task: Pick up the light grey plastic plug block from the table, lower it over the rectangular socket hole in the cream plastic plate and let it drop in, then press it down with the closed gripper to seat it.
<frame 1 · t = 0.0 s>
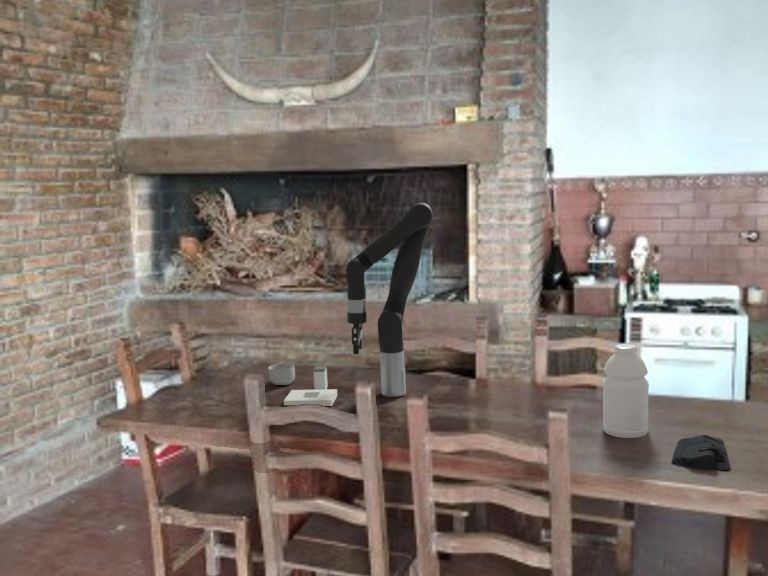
hand: (357, 351, 291), 17 cm above the table, tool pointing down, fingers open, 8 cm apart
bottle: (625, 431, 240), on the table
plug: (321, 389, 303), on the table
dark slate chunk: (701, 457, 218), on the table
teacup: (283, 383, 315), on the table
socket plate: (311, 401, 287), on the table
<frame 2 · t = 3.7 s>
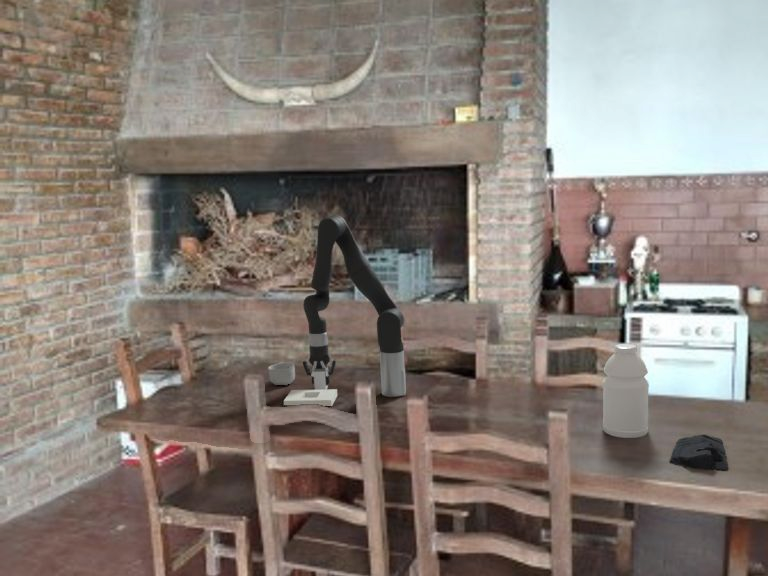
hand: (320, 384, 303), 2 cm above the table, tool pointing down, fingers closed on plug, 4 cm apart
plug: (321, 389, 303), on the table, touching gripper
when the fingers open (5 cm above the table, at t = 9.8 s): plug drops 3 cm, resting in socket plate.
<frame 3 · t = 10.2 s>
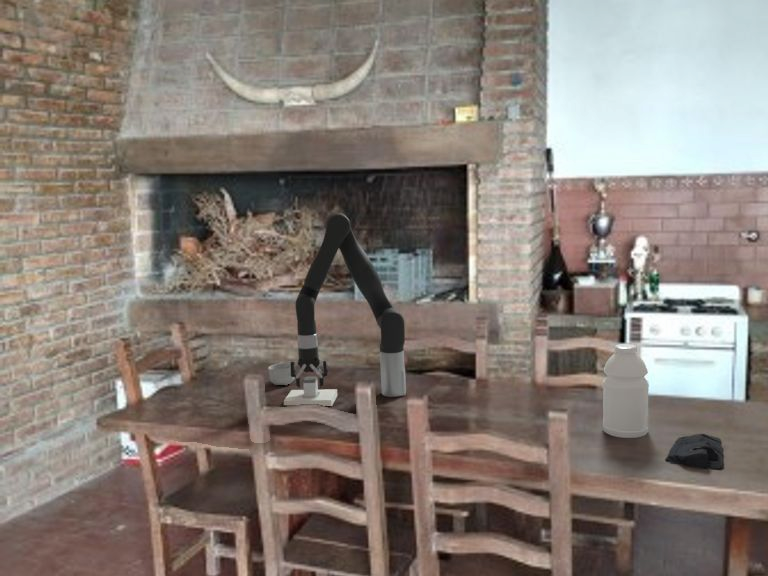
hand: (310, 387, 287), 6 cm above the table, tool pointing down, fingers open, 8 cm apart
plug: (311, 401, 287), resting in socket plate
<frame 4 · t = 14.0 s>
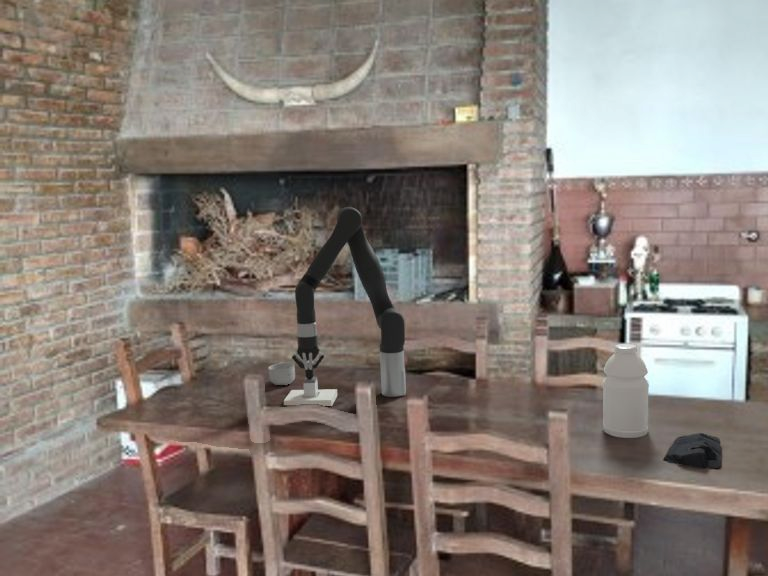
hand: (309, 378, 286), 9 cm above the table, tool pointing down, fingers closed
plug: (311, 401, 287), resting in socket plate, touching gripper
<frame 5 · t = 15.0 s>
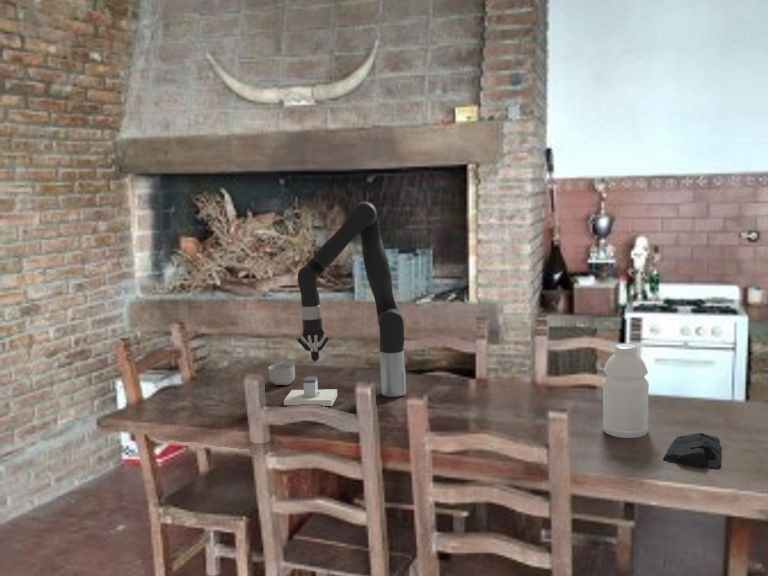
hand: (315, 360, 291), 14 cm above the table, tool pointing down, fingers closed
plug: (311, 401, 287), resting in socket plate
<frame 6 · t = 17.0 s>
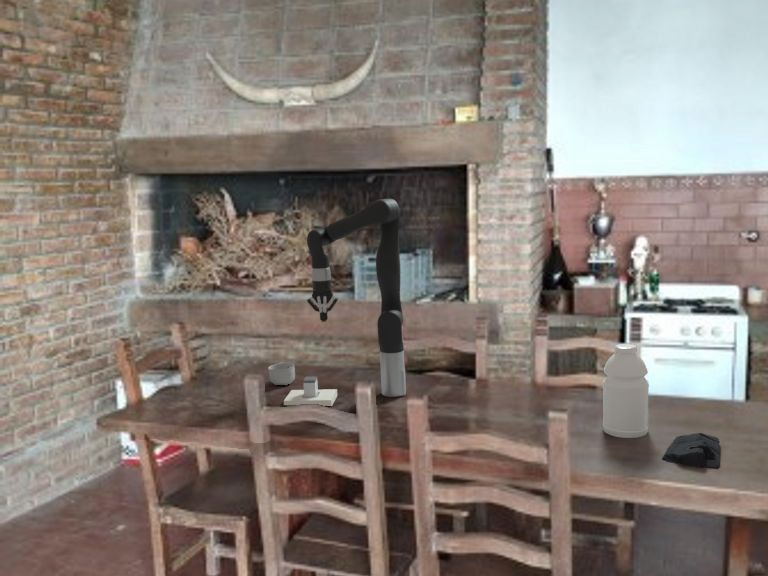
hand: (324, 321, 303), 27 cm above the table, tool pointing down, fingers closed
at the end: plug 0.1 cm off-centre on the socket plate, point 0.0 cm above the socket plate's base; plug tilted 0°; the gripper is holding nothing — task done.
